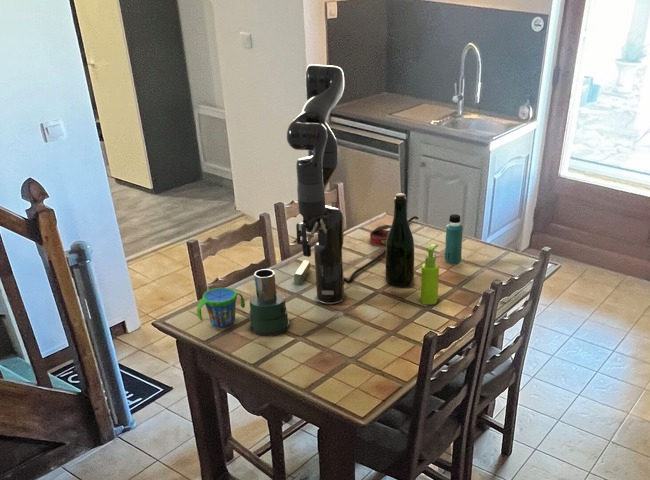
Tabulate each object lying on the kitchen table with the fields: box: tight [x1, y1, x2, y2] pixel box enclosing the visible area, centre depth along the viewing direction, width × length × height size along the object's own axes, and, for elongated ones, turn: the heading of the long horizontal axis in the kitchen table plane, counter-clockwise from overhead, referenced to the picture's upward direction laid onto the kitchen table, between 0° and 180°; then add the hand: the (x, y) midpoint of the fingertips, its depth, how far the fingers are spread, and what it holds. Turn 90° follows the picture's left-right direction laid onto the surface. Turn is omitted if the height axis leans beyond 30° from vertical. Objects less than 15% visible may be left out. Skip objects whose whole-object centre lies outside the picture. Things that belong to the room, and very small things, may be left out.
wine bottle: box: [384, 192, 415, 288], centre depth 242 cm, size 10×10×33 cm
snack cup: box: [196, 287, 246, 328], centre depth 220 cm, size 16×10×10 cm
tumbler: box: [253, 268, 277, 303], centre depth 214 cm, size 6×6×9 cm
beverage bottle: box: [444, 213, 464, 265], centre depth 259 cm, size 6×7×20 cm
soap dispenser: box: [420, 243, 440, 306], centre depth 234 cm, size 6×7×20 cm
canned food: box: [369, 224, 391, 247], centre depth 281 cm, size 11×10×10 cm
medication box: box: [293, 259, 311, 285], centre depth 251 cm, size 12×3×4 cm, turn 172°
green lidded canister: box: [248, 291, 290, 337], centre depth 219 cm, size 12×12×10 cm
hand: (314, 250), depth 200 cm, fingers open, 8 cm apart
